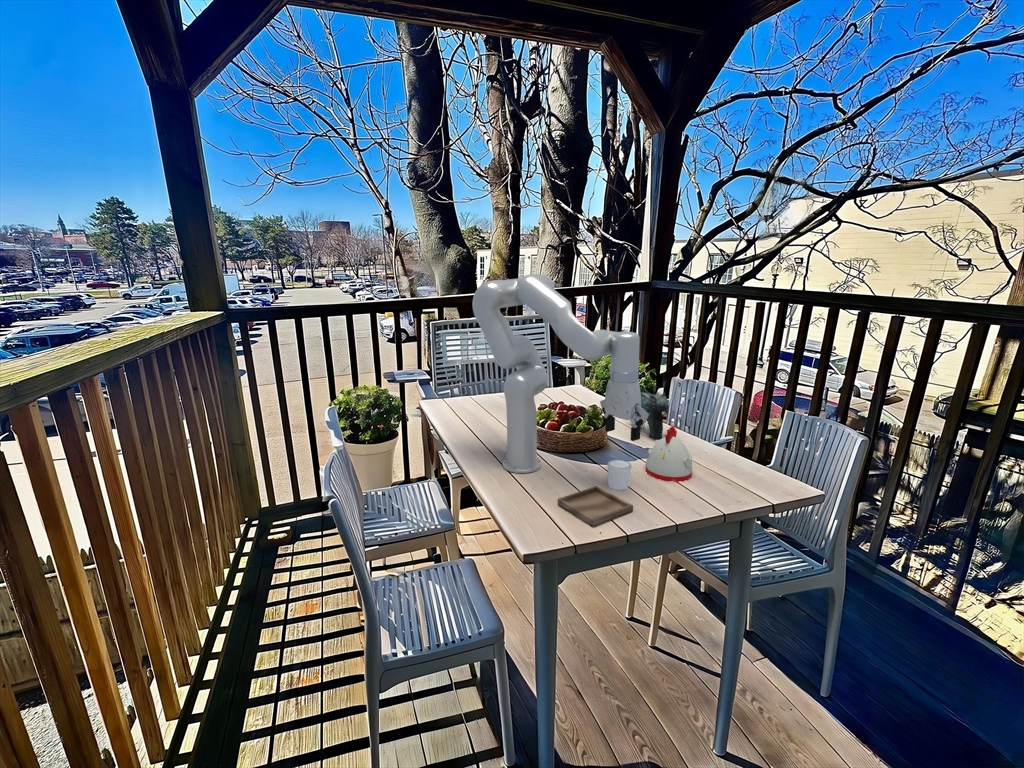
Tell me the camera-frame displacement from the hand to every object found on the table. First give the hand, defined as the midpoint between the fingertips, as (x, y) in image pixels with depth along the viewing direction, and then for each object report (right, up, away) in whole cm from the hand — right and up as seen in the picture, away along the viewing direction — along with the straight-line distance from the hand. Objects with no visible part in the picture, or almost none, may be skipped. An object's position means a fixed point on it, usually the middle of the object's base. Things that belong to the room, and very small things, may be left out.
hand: (622, 435), depth 136 cm
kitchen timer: (+17, -13, +13) cm, 26 cm away
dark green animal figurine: (+20, -4, +49) cm, 53 cm away
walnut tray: (-9, -19, -9) cm, 23 cm away
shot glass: (0, -16, +4) cm, 16 cm away
